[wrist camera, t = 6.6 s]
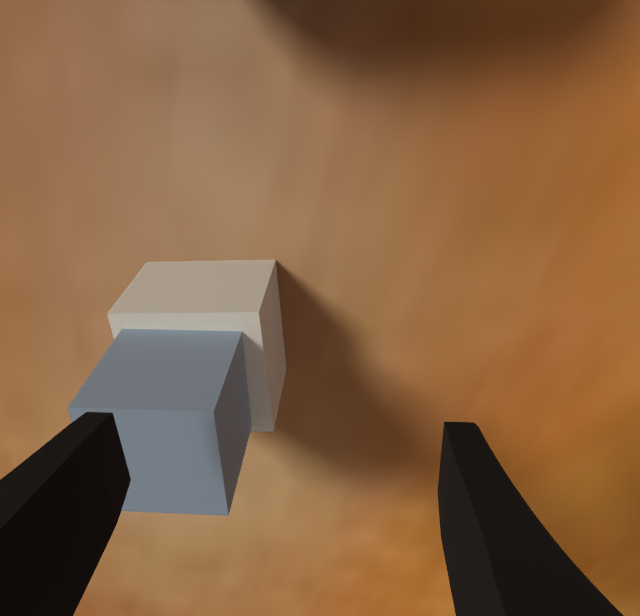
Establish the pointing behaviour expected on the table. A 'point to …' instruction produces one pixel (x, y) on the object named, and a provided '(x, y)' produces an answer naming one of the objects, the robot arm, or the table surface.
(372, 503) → the table surface
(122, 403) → the blue cube
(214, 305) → the cream block
